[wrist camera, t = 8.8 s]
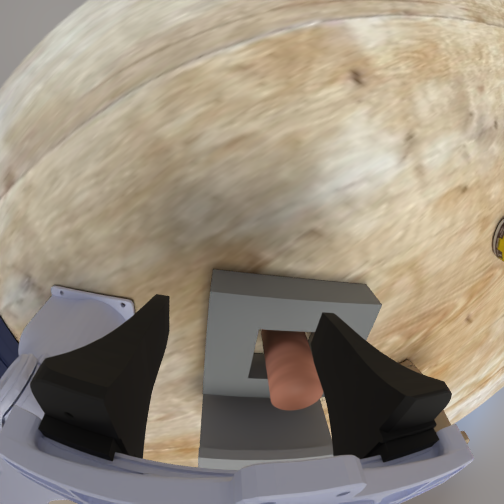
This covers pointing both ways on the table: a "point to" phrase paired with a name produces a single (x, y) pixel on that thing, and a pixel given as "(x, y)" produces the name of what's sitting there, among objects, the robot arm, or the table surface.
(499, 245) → the supplement bottle
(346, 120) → the table surface
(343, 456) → the robot arm
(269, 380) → the peg
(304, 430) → the socket stand
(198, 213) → the table surface
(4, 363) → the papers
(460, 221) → the table surface
